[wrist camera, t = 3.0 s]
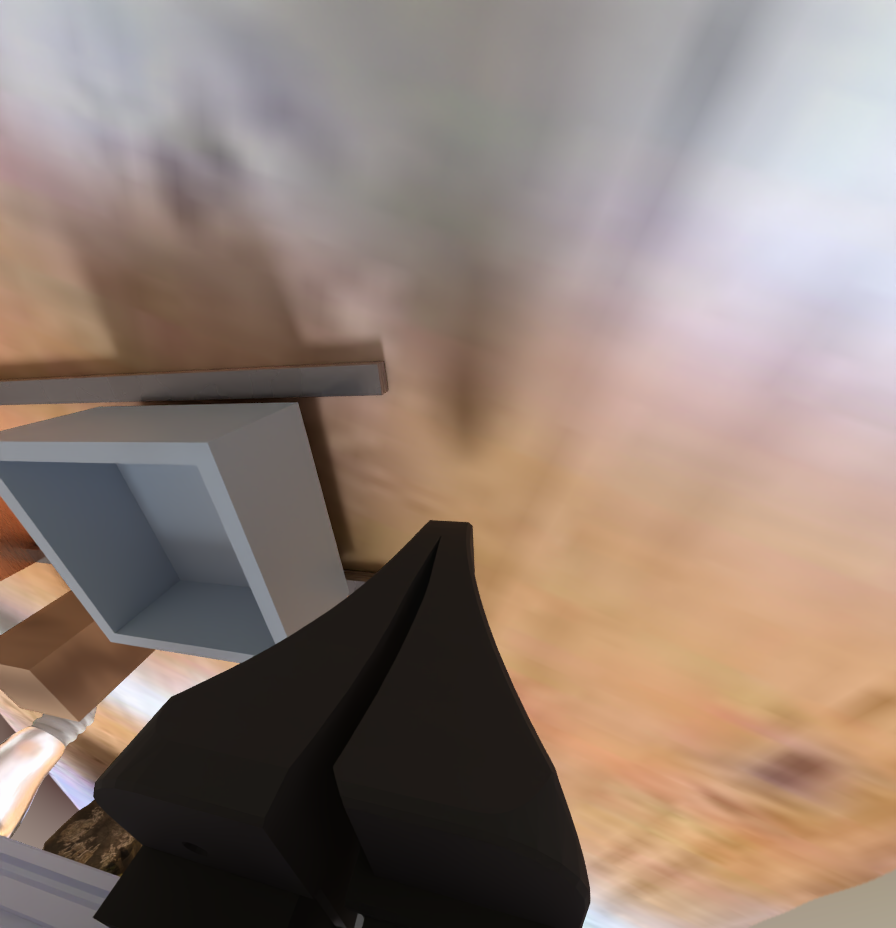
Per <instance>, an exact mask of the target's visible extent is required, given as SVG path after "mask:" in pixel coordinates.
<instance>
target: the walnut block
mask: <svg viewBox="0 0 896 928" xmlns="http://www.w3.org/2000/svg"><path fill="white" fill-rule="evenodd" d="M155 650H156V649H151V648H145V647H139V646H132V645H126V644H120V643H114V642H110V640H109V639H108V638H107V636H106V635H105V634H104V632H103V631H102V630H101V629H100V627H99V626H98V625H97V623H96V622H95V621H94V619H93V618H92V617H91V615H90V614H89V613H88V611H87V610H86V609H85V607H84V606H83V605H82V603H81V602H80V601H79V599H78V598H77V597H76V595H75V594H74V593H73V591H72V590H71V591H69V592H68V593H66V594H64V595H63V596H61V597H60V598H58V599H57V600H55V601H53V602H52V603H50V604H49V605H47V606H46V607H44V608H43V609H41V610H39V611H38V612H36V613H35V614H33V615H32V616H30V617H28V618H27V619H25V620H24V621H22V622H21V623H19V624H18V625H16V626H14V627H13V628H11V629H10V630H8V631H7V632H5V633H3V634H2V635H0V689H1V690H2V691H3V692H4V693H5V694H6V695H7V696H8V697H9V698H10V699H11V700H12V701H13V702H14V703H15V704H17V705H18V706H19V707H20V708H22V709H26V710H30V711H34V712H39V713H43V714H47V715H51V716H56V717H60V718H64V719H68V720H72V721H77V722H80V721H81V720H82V719H83V718H84V717H85V716H86V715H87V714H88V713H89V712H91V711H92V710H93V709H94V708H95V707H96V706H97V705H98V704H99V703H100V702H101V701H102V700H103V699H104V698H105V697H106V696H107V695H108V694H109V693H110V692H111V691H113V690H114V689H115V688H116V687H117V686H118V685H119V684H120V683H121V682H122V681H123V680H124V679H125V678H126V677H127V676H128V675H129V674H130V673H131V672H132V671H134V670H135V669H136V668H137V667H138V666H139V665H140V664H141V663H142V662H143V661H144V660H145V659H146V658H147V657H148V656H149V655H150V654H151V653H152V652H153V651H155Z"/></svg>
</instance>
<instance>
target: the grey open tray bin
mask: <svg viewBox="0 0 896 928" xmlns="http://www.w3.org/2000/svg"><path fill="white" fill-rule="evenodd" d="M0 496H1V497H2V499H3V500H4V501H5V503H6V504H7V505H8V507H9V508H10V509H11V511H12V512H13V513H14V515H15V516H16V517H17V519H18V520H19V521H20V523H21V524H22V525H23V527H24V528H25V529H26V531H27V532H28V533H29V535H30V536H31V537H32V538H33V540H34V541H35V542H36V544H37V545H38V546H39V548H40V549H41V550H42V552H43V553H44V554H45V556H46V557H47V558H48V560H49V561H50V562H51V564H52V565H53V566H54V568H55V569H56V570H57V572H58V573H59V574H60V576H61V577H62V578H63V580H64V581H65V582H66V584H67V585H68V586H69V587H70V589H71V590H72V591H73V593H74V594H75V595H76V597H77V598H78V599H79V601H80V602H81V603H82V605H83V606H84V607H85V609H86V610H87V611H88V613H89V614H90V615H91V617H92V618H93V619H94V621H95V622H96V623H97V625H98V626H99V627H100V629H101V630H102V631H103V632H104V634H105V635H106V636H107V638H108V639H109V640H110V642H114V643H120V644H126V645H132V646H139V647H145V648H151V649H157V650H163V651H169V652H175V653H181V654H187V655H194V656H200V657H206V658H212V659H218V660H224V661H230V662H236V663H242V662H244V661H246V660H248V659H250V658H252V657H253V656H255V655H257V654H259V653H261V652H263V651H264V650H266V649H268V648H270V647H271V646H273V645H275V644H277V643H278V642H280V641H282V640H284V639H285V638H287V637H289V636H290V635H292V634H294V633H295V632H297V631H298V630H300V629H301V628H303V627H304V626H306V625H307V624H309V623H311V622H312V621H314V620H315V619H317V618H318V617H320V616H321V615H323V614H324V613H326V612H327V611H329V610H330V609H332V608H333V607H335V606H336V605H337V604H339V603H340V602H341V601H343V600H344V599H345V598H347V596H348V594H349V589H348V586H347V582H346V578H345V575H344V571H343V567H342V563H341V560H340V556H339V552H338V549H337V545H336V541H335V538H334V534H333V530H332V526H331V523H330V519H329V515H328V512H327V508H326V504H325V500H324V497H323V493H322V489H321V486H320V482H319V478H318V475H317V471H316V467H315V463H314V460H313V456H312V452H311V449H310V445H309V441H308V438H307V434H306V430H305V426H304V423H303V419H302V415H301V412H300V408H299V404H298V402H285V403H241V404H198V405H154V406H111V407H97V408H93V409H88V410H84V411H80V412H76V413H72V414H68V415H64V416H60V417H56V418H52V419H48V420H44V421H40V422H36V423H32V424H27V425H23V426H19V427H15V428H11V429H7V430H3V431H0Z"/></svg>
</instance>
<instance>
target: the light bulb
mask: <svg viewBox="0 0 896 928" xmlns="http://www.w3.org/2000/svg"><path fill="white" fill-rule="evenodd" d="M96 708H97V707H95V708H94V709H93V710H92V711H91V712H89V713H88V714H87V715H86V716H85V717H84V718H83V719H82V720H81V721H80V722H77V721H72V720H68V719H64V718H60V717H56V716H51V715H47V714H43V716H42V717H41V718H37V719H36V720H35V721H34V722H33V725H32V726H29V727H27V728H25V729H23V730H20V731H19V732H17V733H15V734H14V735H12V736H10V737H9V738H8V739H6V740H5V741H4V742H2V743H1V744H0V835H1V836H4V837H7V838H10V839H11V837H12V836H13V834H14V833H15V831H16V830H17V829H18V827H19V826H20V824H21V823H22V821H23V819H24V817H25V815H26V813H27V811H28V809H29V807H30V805H31V803H32V800H33V798H34V796H35V794H36V792H37V790H38V788H39V786H40V784H41V783H42V781H43V779H44V778H45V777H46V775H47V774H48V773H49V771H50V770H51V769H52V768H53V767H54V766H55V764H56V763H57V762H58V761H59V759H60V758H61V756H62V754H63V752H64V750H65V748H66V746H67V745H68V744H69V743H70V742H73V741H74V740H76V738H77V735H78V734H81V733H83V732H84V731H85V729H86V726H89V725H91V724H92V723H93V721H94V717H95V713H96Z"/></svg>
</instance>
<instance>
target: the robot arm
mask: <svg viewBox="0 0 896 928" xmlns="http://www.w3.org/2000/svg"><path fill="white" fill-rule="evenodd" d="M474 573H475V569H474V548H473V526H472V525H471V524H470V523H469V522H452V521H433V520H430V521H429V522H428V523H427V524H426V525H425V526H424V527H423V528H422V529H421V530H420V531H419V532H418V533H417V534H416V535H415V536H414V537H413V538H412V539H411V540H410V541H409V542H408V543H407V544H406V545H405V546H404V547H403V548H402V549H401V550H400V551H399V552H398V553H397V554H396V555H395V556H394V557H393V558H392V559H391V560H390V561H389V562H388V563H387V564H386V565H385V566H384V567H382V568H381V569H380V570H379V571H378V572H377V573H376V574H375V575H373V576H372V577H371V578H370V579H369V580H368V581H367V582H365V583H364V584H363V585H362V586H361V587H359V588H358V589H357V590H356V591H354V592H353V593H352V594H351V595H349V596H348V597H347V598H345V599H344V600H343V601H341V602H340V603H339V604H337V605H336V606H335V607H333V608H332V609H330V610H329V611H327V612H326V613H324V614H323V615H321V616H320V617H318V618H317V619H315V620H314V621H312V622H311V623H309V624H307V625H306V626H304V627H303V628H301V629H300V630H298V631H297V632H295V633H294V634H292V635H290V636H289V637H287V638H285V639H284V640H282V641H280V642H278V643H277V644H275V645H273V646H271V647H270V648H268V649H266V650H264V651H263V652H261V653H259V654H257V655H255V656H253V657H252V658H250V659H248V660H246V661H244V662H242V663H240V664H238V665H236V666H235V667H233V668H231V669H229V670H227V671H225V672H222V673H220V674H218V675H216V676H214V677H212V678H210V679H208V680H206V681H204V682H202V683H200V684H198V685H196V686H194V687H192V688H189V689H187V690H185V691H183V692H181V693H179V694H177V695H174V696H172V697H171V698H170V699H169V700H168V701H167V702H166V703H165V704H164V705H163V706H162V707H161V709H160V710H159V711H158V712H157V713H156V714H155V715H154V716H153V718H152V719H151V720H150V721H149V722H148V723H147V724H146V726H145V727H144V728H143V729H142V730H141V731H140V732H139V733H138V735H137V736H136V737H135V738H134V739H133V740H132V741H131V742H130V744H129V745H128V746H127V747H126V748H125V749H124V750H123V752H122V753H121V754H120V755H119V756H118V757H117V758H116V759H115V761H114V762H113V763H112V764H111V765H110V766H109V767H108V768H107V770H106V771H105V772H104V773H103V774H102V775H101V776H100V778H99V779H98V780H97V781H96V782H95V787H94V795H93V797H94V799H95V800H96V802H97V804H98V805H99V806H100V807H101V808H102V809H103V810H104V811H105V812H106V813H107V814H108V815H109V816H110V817H111V818H112V819H113V820H115V821H116V822H117V823H118V824H119V825H120V826H121V827H123V828H124V829H125V830H126V831H127V832H128V833H129V834H131V835H132V836H133V837H134V838H135V839H136V840H137V841H138V842H140V843H141V844H142V847H141V848H140V850H139V851H138V853H137V854H136V856H135V857H134V858H133V860H132V861H131V863H130V864H129V866H128V867H127V868H126V870H125V871H124V873H123V874H122V876H121V877H119V876H116V875H113V874H111V873H108V872H105V871H102V870H99V869H96V868H93V867H90V866H88V865H85V864H82V863H79V862H76V861H73V860H70V859H67V858H64V857H62V856H59V855H56V854H53V853H50V852H47V851H44V850H41V849H39V848H36V847H33V846H30V845H27V844H24V843H21V842H18V841H15V840H12V839H10V838H7V837H4V836H1V835H0V928H582V926H583V923H584V920H585V917H586V914H587V911H588V908H589V905H590V886H589V880H588V875H587V870H586V865H585V861H584V857H583V853H582V850H581V846H580V843H579V839H578V836H577V832H576V829H575V826H574V823H573V820H572V817H571V814H570V811H569V808H568V805H567V802H566V799H565V797H564V794H563V791H562V788H561V785H560V782H559V779H558V776H557V773H556V770H555V767H554V765H553V763H552V761H551V759H550V758H549V756H548V754H547V752H546V750H545V748H544V746H543V745H542V743H541V741H540V739H539V737H538V735H537V733H536V731H535V729H534V727H533V725H532V723H531V721H530V719H529V717H528V715H527V713H526V711H525V709H524V707H523V705H522V703H521V701H520V699H519V697H518V694H517V692H516V690H515V688H514V686H513V684H512V681H511V679H510V677H509V674H508V672H507V670H506V667H505V665H504V663H503V660H502V658H501V656H500V653H499V651H498V648H497V646H496V643H495V641H494V638H493V635H492V632H491V630H490V627H489V624H488V621H487V618H486V615H485V612H484V609H483V606H482V602H481V599H480V595H479V591H478V587H477V583H476V579H475V574H474Z"/></svg>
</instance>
